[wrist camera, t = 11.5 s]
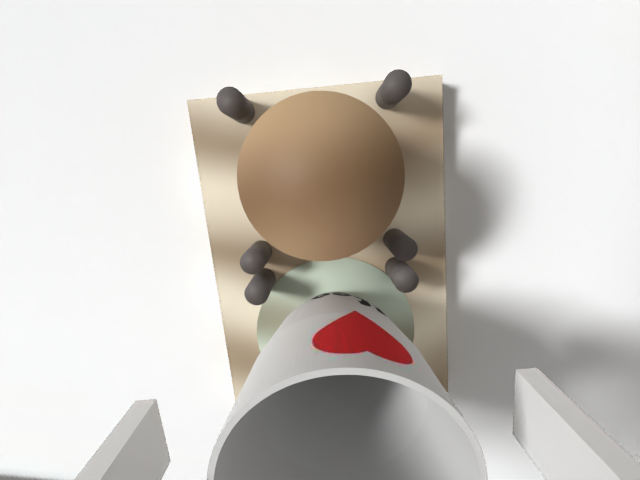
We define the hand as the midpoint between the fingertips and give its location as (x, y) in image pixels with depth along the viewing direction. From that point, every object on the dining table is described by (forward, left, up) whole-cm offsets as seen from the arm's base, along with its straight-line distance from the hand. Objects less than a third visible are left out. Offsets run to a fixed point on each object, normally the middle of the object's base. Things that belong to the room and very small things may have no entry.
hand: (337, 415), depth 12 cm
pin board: (-4, 0, -9) cm, 9 cm away
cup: (0, 0, -8) cm, 8 cm away
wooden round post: (-9, 0, -7) cm, 11 cm away
